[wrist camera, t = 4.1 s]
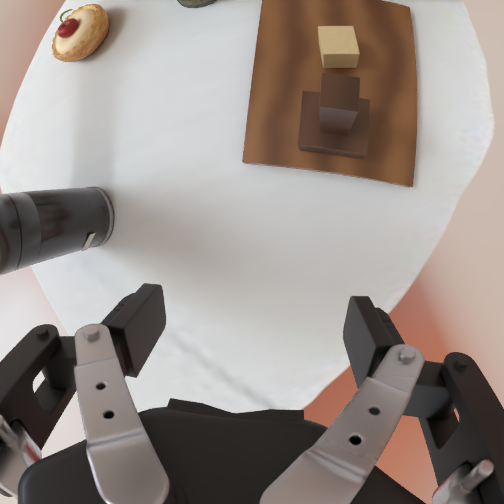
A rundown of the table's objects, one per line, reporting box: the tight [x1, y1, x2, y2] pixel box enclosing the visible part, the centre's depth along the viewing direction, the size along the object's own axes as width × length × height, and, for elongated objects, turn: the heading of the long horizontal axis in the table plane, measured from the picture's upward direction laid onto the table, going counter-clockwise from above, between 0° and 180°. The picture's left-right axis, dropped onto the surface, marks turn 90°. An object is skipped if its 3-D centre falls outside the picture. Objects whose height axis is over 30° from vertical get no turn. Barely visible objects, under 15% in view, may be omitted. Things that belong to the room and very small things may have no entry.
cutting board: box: [242, 0, 417, 187], centre depth 29 cm, size 20×26×2 cm
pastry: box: [52, 4, 109, 62], centre depth 31 cm, size 12×12×9 cm
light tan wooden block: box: [318, 26, 360, 68], centre depth 26 cm, size 4×4×4 cm
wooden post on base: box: [297, 72, 370, 159], centre depth 24 cm, size 7×6×13 cm
